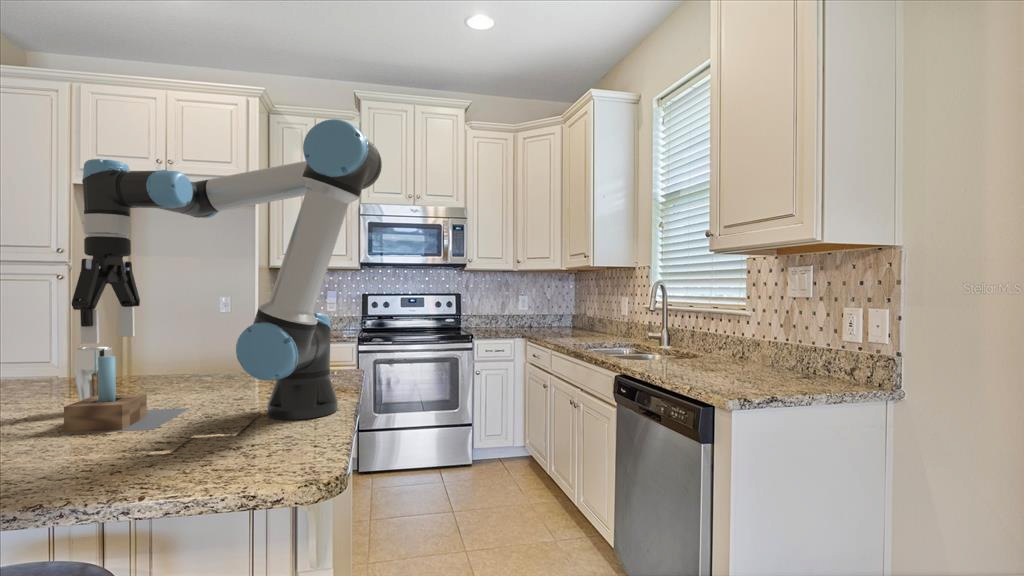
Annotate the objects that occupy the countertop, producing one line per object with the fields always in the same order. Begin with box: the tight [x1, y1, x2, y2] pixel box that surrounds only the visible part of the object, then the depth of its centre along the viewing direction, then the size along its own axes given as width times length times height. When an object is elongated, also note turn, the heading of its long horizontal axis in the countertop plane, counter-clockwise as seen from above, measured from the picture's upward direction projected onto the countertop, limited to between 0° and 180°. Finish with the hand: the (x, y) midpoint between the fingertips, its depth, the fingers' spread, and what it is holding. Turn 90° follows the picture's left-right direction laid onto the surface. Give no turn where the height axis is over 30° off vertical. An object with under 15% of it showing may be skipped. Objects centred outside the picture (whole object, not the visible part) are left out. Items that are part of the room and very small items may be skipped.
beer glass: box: [73, 345, 114, 401], centre depth 116 cm, size 7×7×15 cm
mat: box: [60, 407, 190, 435], centre depth 109 cm, size 16×18×1 cm
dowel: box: [98, 355, 117, 403], centre depth 106 cm, size 3×3×14 cm
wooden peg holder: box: [63, 393, 148, 433], centre depth 106 cm, size 10×10×5 cm
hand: (109, 340), depth 106 cm, fingers open, 13 cm apart
